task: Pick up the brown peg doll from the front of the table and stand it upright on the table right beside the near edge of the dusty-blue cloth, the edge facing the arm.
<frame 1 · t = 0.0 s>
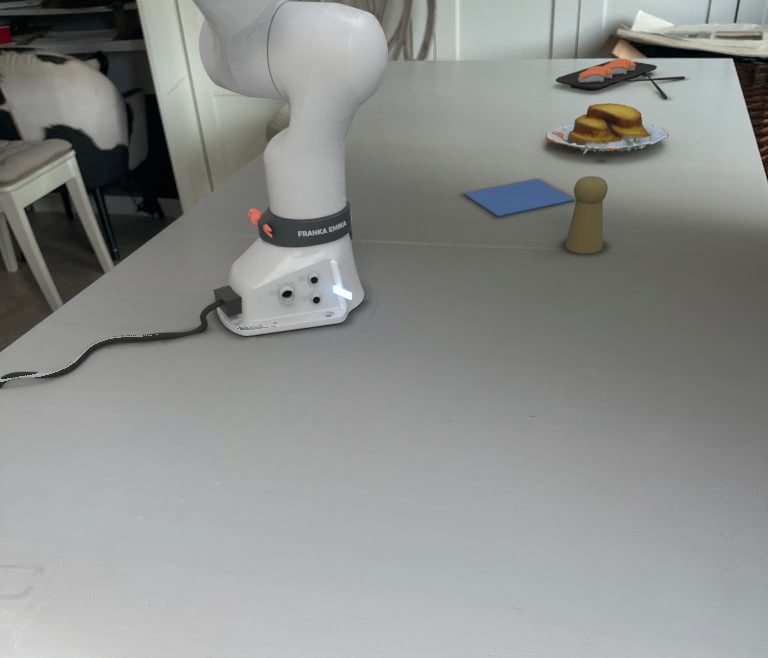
sushi plate: (630, 85, 211), on the table
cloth: (518, 198, 153), on the table
food on plate: (604, 146, 174), on the table
brown peg doll: (583, 247, 134), on the table
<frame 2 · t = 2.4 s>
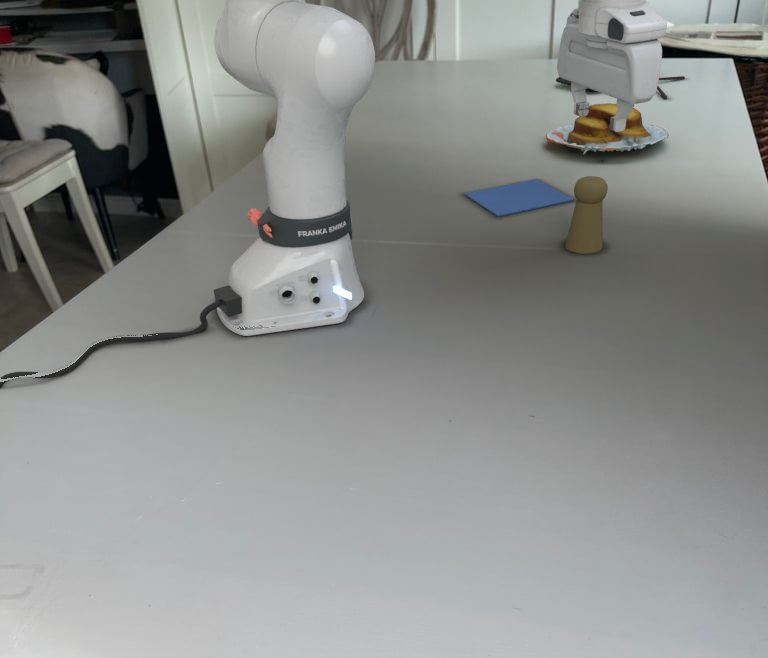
hand: (598, 122, 122), 19 cm above the table, tool pointing down, fingers open, 8 cm apart
nothing on the table moved.
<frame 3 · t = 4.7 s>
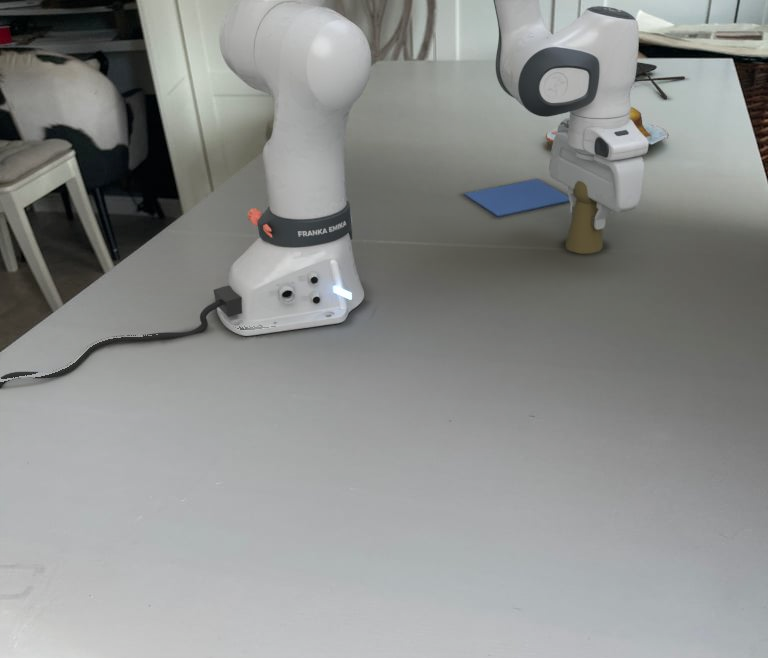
hand: (586, 221, 131), 4 cm above the table, tool pointing down, fingers closed on brown peg doll, 4 cm apart
brown peg doll: (583, 247, 134), on the table, touching gripper
everything else where it was.
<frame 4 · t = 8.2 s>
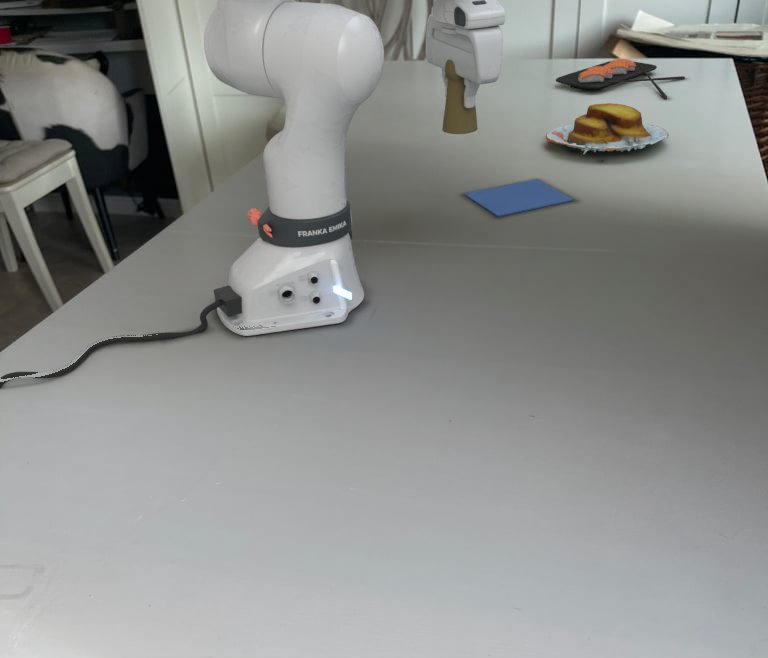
hand: (460, 102, 135), 19 cm above the table, tool pointing down, fingers closed on brown peg doll, 4 cm apart
brown peg doll: (459, 130, 138), point 15 cm above the table, touching gripper
everything else where it was.
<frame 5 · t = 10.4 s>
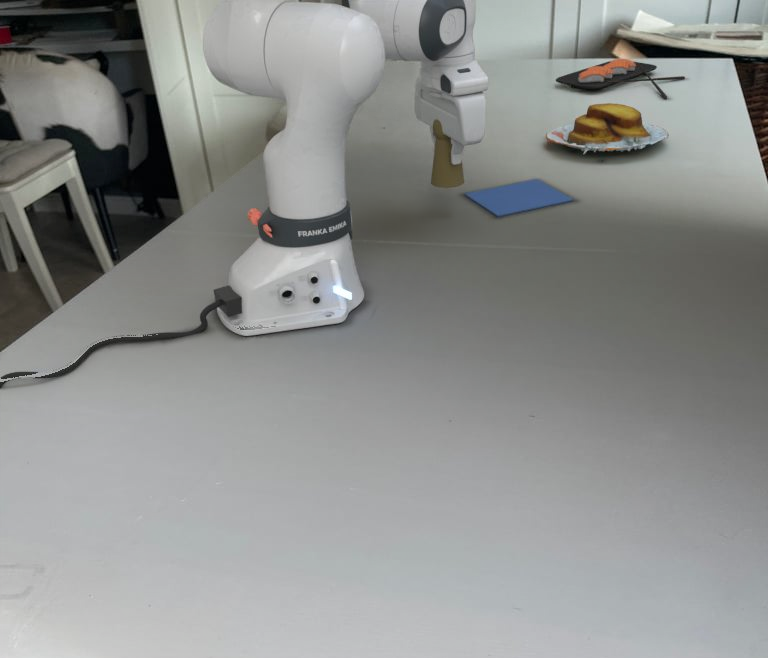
hand: (447, 158, 142), 10 cm above the table, tool pointing down, fingers closed on brown peg doll, 4 cm apart
brown peg doll: (447, 183, 145), point 5 cm above the table, touching gripper
everything else where it was.
when the fingers open (4 cm above the table, at t = 12.1 s): brown peg doll stays where it is, on the table.
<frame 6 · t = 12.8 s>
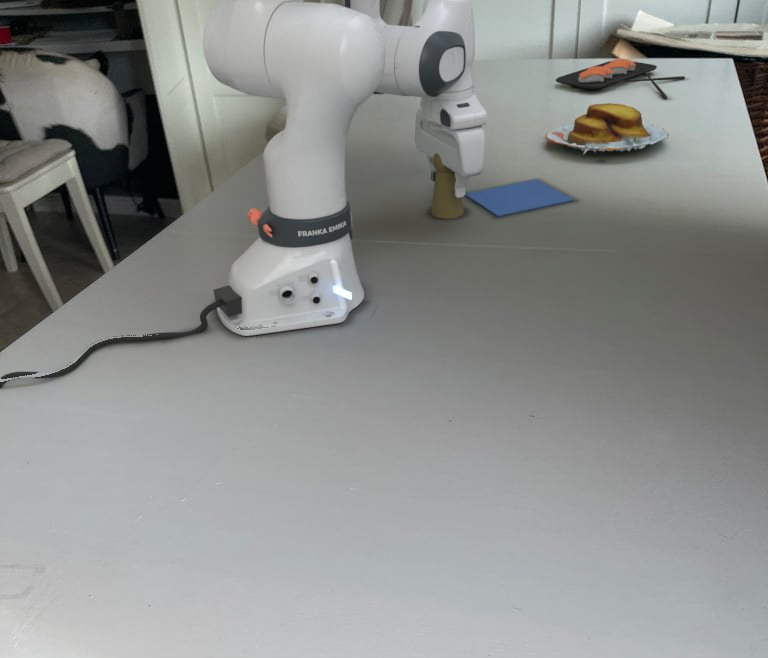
hand: (446, 188, 146), 4 cm above the table, tool pointing down, fingers open, 8 cm apart
brown peg doll: (447, 213, 149), on the table
everything else where it was.
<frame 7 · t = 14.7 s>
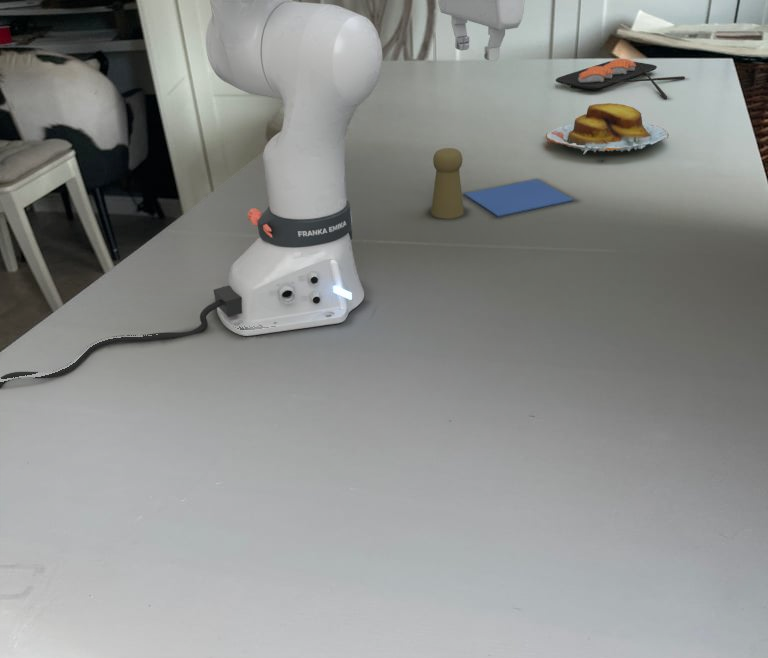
hand: (476, 54, 125), 27 cm above the table, tool pointing down, fingers open, 8 cm apart
nothing on the table moved.
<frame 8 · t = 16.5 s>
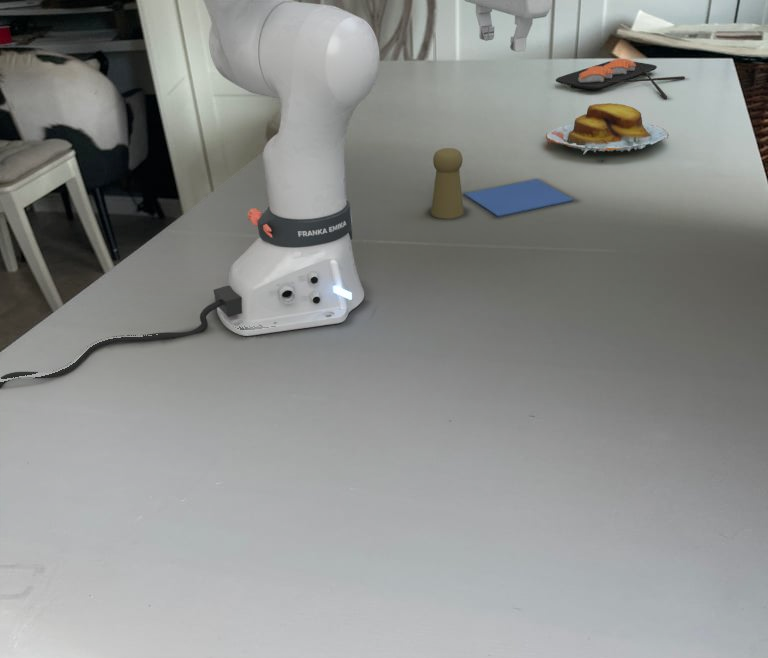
hand: (501, 45, 120), 29 cm above the table, tool pointing down, fingers open, 8 cm apart
nothing on the table moved.
at the end: brown peg doll inside the target area on the table beside the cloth (0.9 cm from its centre), on the table; brown peg doll tilted 0°; the gripper is holding nothing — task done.
